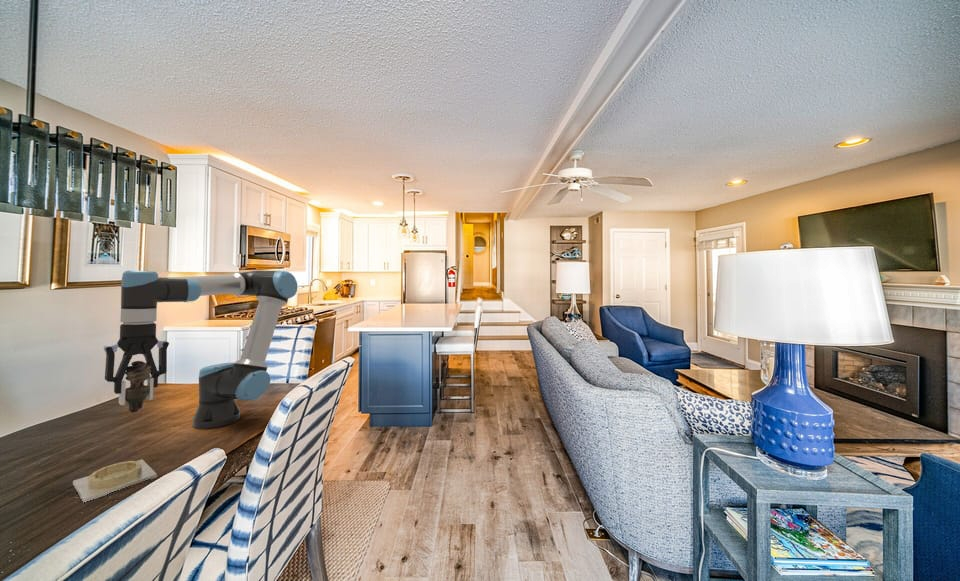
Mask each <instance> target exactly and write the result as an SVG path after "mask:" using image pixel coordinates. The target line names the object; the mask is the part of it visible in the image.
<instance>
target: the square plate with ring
mask: <svg viewBox="0 0 960 581" xmlns="http://www.w3.org/2000/svg"><path fill="white" fill-rule="evenodd" d="M151 478H152V479H151ZM157 478H158V473H156V471H155V470H154V469H153V468H152V467H151V466H149V464H148V463H146V462H145V460H143V459H139V460H128V461H122V462H116V463H113V464H110V465H107V466H106V465H105V466H103V467H102V468H99V469H97V470H95V471H93V472H92V473H91V474H90V475H88V476H87V475H86V476H84V477H80V478H77V479H74V480H72V485H73V487H74V489H75V491H76V492H78V493H77V494H78V496H79V497H80V500H81V499H82V500H81V501H83V502H82V503H83V504H85V503H88V502H90V500H91V501H93V499H94V500H96V499H100V498H102V497H106V496H108V495H110V494H109V493H111V492H114V491H117V490H119V491H121V490H120V489H122V488H125V487H128V486H130V485H133V484H136V483H139V482H141V481H145V480H148V479H151V480H154V479H157ZM148 481H149V480H148ZM145 482H146V481H145ZM128 488H129V487H128ZM125 489H126V488H125ZM122 490H123V489H122ZM117 492H118V491H117ZM114 493H115V492H114ZM107 494H108V495H107ZM111 494H112V493H111ZM87 501H88V502H87ZM84 502H85V503H84Z"/></svg>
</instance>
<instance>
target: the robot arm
mask: <svg viewBox="0 0 960 581" xmlns="http://www.w3.org/2000/svg"><path fill="white" fill-rule="evenodd" d="M298 287H299V286H298V281H297V280H296V277H295V276H294V275H293V273H291V272H289V271H286V270H261V269H260V270H259V269H258V270H252V271H243V272H232V273H231V274H229V275H226V274H225V275H200V276H199V275H198V276H169V277H168V276H166V277H165V276H164V277H159V274H158V272H156V271H149V270H126V271H123V272H122V277H121V283H120V320H119V322H120V323H121V324H120V325H119V339H118V341H117V342H116V343H115V344H112V345H106V346H103V351H104V352H105V354H106V356H105V367H104V368H105V370H104V380H105V381H107V382H108V383H110V382H111V383H113V393H114V394H115V395H118V404H119V405H120V406H126V400H125V390H126V386H127V385H126V384H127V383H126V381H125V380H123V379H124V377H125V375H126V374H125V372H126V370H127V367H128V366H130V362H131V360H132V358H133V356H137V355H142V356H144V360H145V363H147V364H148V365H149V366H151V373H150V377H149V378H148V379H147V380H146V384H147V385H146V386H149V394H148V396H147V398H146V399H147V400H148V401H151V400H152V401H153V400H154V388H157V387H158V385H159V378H160V376H161V375H164V374H166V373H167V349H168V347H169V345H170V342H168V341H166V340H163V341H162V340H159V339H158V338H157V336H156V335H157V323H155V322H156V321H157V318H158V317H157V313H158V311H157V309H158V303H182V302H183V303H188V302H194V301H197V300H198V299H199V298H200V297H204V296H205V297H206V296H216V295H218V296H219V295H230V294H232V296H233V295H234V296H252V297H255V298H256V300H257V302H258V305H257V306H256V309H255V314H254V316H253V319H252V322H251V325H250V328H249V331H248V334H247V337H246V340H245V342H244V345H243V346H244V347H243V349H242V352H241V356H240V358H239V359H238V360H236V361H235V362H224V363H223V362H222V363H216V364H212V365H208V366H207V365H206V366H204V367H202V368H200V370H199V374H198V407H197V409H196V412H195V414H194V417H193V419H192V427H194V428H196V429H214V427H215V428H220V427H224V426H226V425H227V426H228V425H230V424H233V423H235V422H237V421H238V420H240V418H241V411H240V408H239V406H238V404H237V401H236V400H238V401H255V400H257V399H260V397H261V396H263V395H264V394H265V393H266V392H267V391H268V388H269V387H270V385H271V377H270V374H269V373H268V371H267V370H268V366H267V364H266V360H267V356H268V353H269V350H270V347H271V343H272V341H273V340H272V339H273V336H274V334H275V330H276V326H277V324H278V320H279V316H280V313H281V310H282V307H284V306H286V305H287V304H288V301H289V299H291V298H293V297H294V296H296V295H297V292H298ZM156 345H157V346H156ZM155 346H156V347H157V348H158V369H157V367H156V363H155V360H154V357H153V354H152V350H153V349H154V347H155ZM118 349H120V350H121V351H123V355H122V358H121V361H120V363H119V366H118V369H117V371H116V373H114V372H115V361H116V360H115V358H116V357H115V356H116V355H115V353H117V351H118ZM114 374H115V375H114Z"/></svg>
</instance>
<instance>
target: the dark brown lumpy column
mask: <svg viewBox="0 0 960 581" xmlns="http://www.w3.org/2000/svg"><path fill="white" fill-rule="evenodd" d="M150 373H151V366H149V365H148V364H147V363H146V361H145V362H144V361H143V360H136V361H132V362H131V365H128V367H127V370H126V372H125V375H126V377H125V380H126V381H129V383H130V386H129V387H127V388H126V390H125V402H127V403H128V411H129V412H130V413H138V411H139V410H141V409H142V408H143V405H144V401H145V400H146V399H147V396H148V394H149V386H147V385H145V384H144V383H145V381H147V379H148V378H149V377H151V374H150Z"/></svg>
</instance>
